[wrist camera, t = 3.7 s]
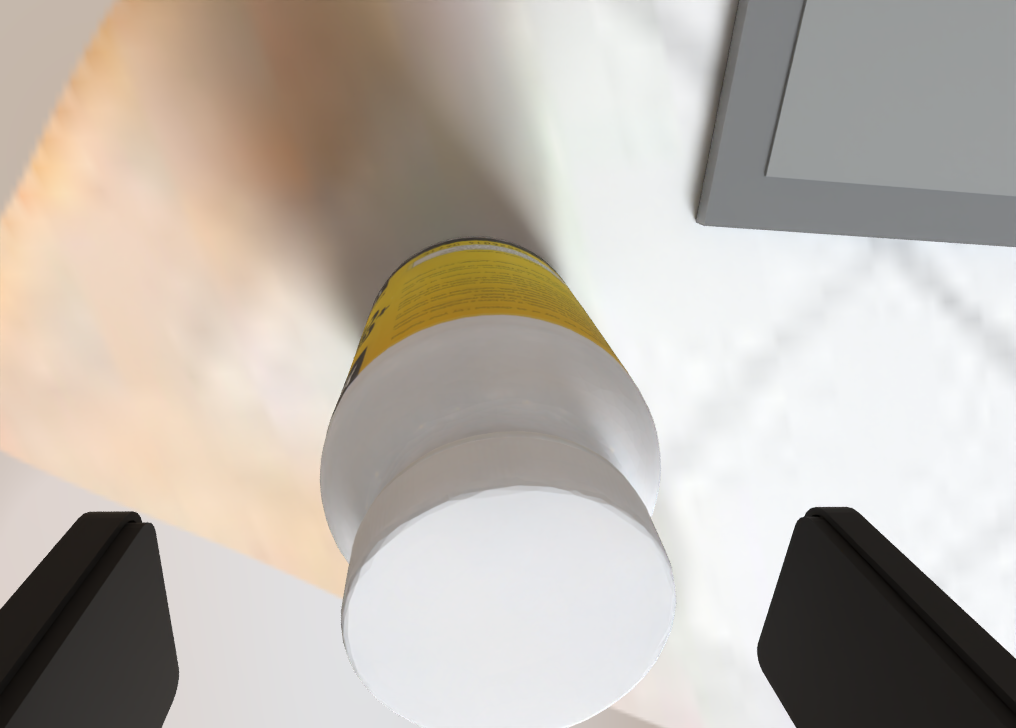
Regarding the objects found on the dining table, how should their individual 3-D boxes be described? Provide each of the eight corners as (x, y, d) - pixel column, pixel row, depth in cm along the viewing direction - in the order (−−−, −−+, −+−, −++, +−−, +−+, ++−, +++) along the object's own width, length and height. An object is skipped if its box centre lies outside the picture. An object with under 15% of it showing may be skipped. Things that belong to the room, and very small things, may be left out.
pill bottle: (393, 206, 17) (309, 357, 7) (604, 263, 18) (824, 470, 8) (351, 405, 19) (236, 762, 9) (541, 444, 21) (644, 799, 10)
